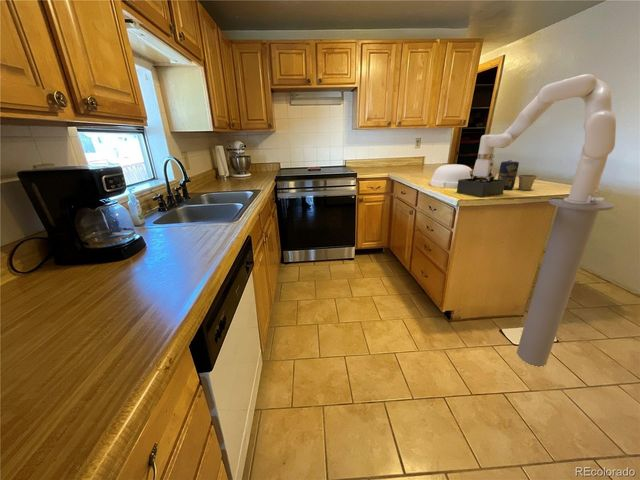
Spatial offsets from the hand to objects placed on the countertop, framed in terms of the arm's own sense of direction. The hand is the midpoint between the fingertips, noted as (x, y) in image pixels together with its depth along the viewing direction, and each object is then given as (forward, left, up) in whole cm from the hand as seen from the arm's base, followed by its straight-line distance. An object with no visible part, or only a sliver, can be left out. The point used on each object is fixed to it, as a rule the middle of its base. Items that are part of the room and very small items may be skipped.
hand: (480, 186), depth 162 cm
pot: (0, 0, -3) cm, 3 cm away
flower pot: (-7, -31, -4) cm, 32 cm away
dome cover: (+32, -11, -4) cm, 34 cm away
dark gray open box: (0, 0, -4) cm, 4 cm away
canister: (+1, -24, -4) cm, 24 cm away
